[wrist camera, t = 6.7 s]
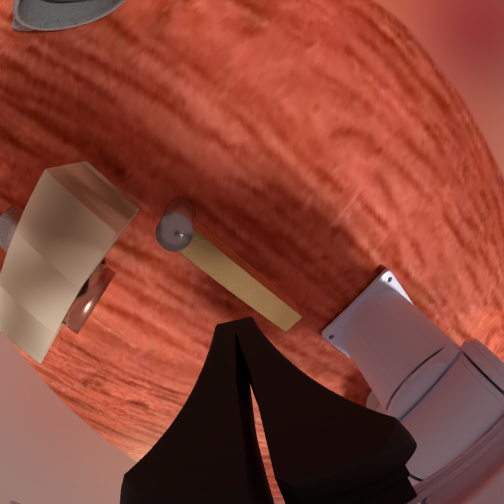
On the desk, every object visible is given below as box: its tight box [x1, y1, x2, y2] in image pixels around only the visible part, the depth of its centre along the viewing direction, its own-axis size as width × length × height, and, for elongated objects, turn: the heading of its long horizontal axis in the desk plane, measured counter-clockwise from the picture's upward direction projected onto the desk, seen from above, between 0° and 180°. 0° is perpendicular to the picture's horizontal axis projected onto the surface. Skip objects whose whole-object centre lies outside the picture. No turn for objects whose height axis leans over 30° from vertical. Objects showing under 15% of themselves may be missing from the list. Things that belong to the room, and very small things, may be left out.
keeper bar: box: [156, 198, 302, 332], centre depth 17 cm, size 10×2×5 cm, turn 46°
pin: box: [0, 205, 115, 334], centre depth 14 cm, size 8×5×5 cm, turn 46°
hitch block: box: [0, 161, 140, 364], centre depth 14 cm, size 5×12×5 cm, turn 136°
